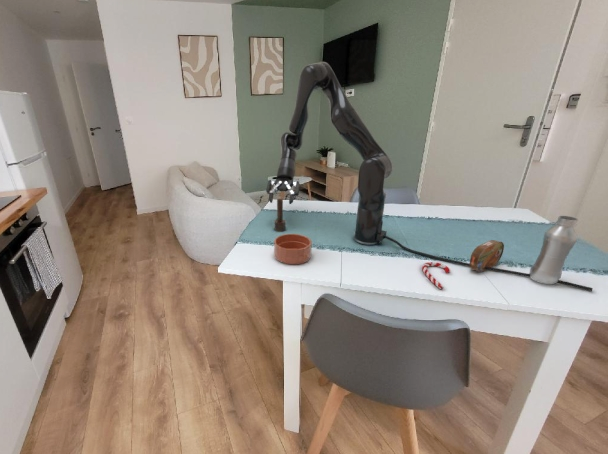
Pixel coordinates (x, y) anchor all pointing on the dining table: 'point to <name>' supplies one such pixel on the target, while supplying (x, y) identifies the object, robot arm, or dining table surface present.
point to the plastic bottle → (554, 251)
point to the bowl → (292, 248)
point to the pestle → (279, 217)
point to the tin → (486, 255)
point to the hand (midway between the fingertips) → (280, 202)
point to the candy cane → (431, 275)
